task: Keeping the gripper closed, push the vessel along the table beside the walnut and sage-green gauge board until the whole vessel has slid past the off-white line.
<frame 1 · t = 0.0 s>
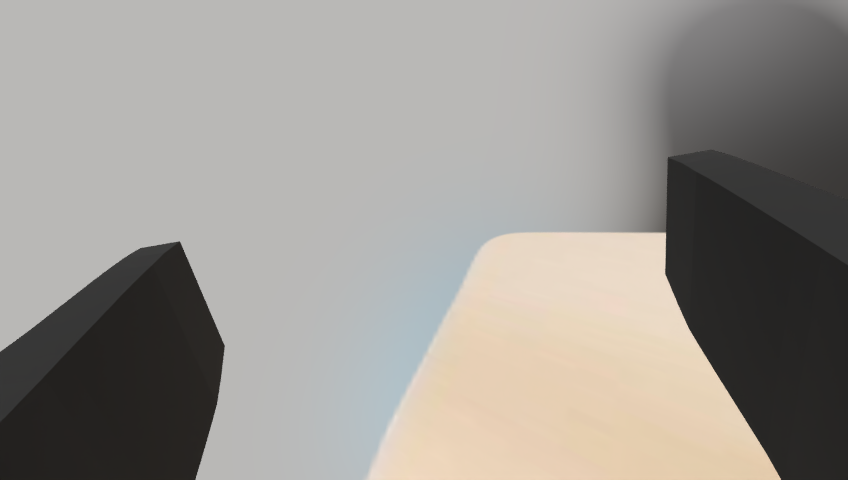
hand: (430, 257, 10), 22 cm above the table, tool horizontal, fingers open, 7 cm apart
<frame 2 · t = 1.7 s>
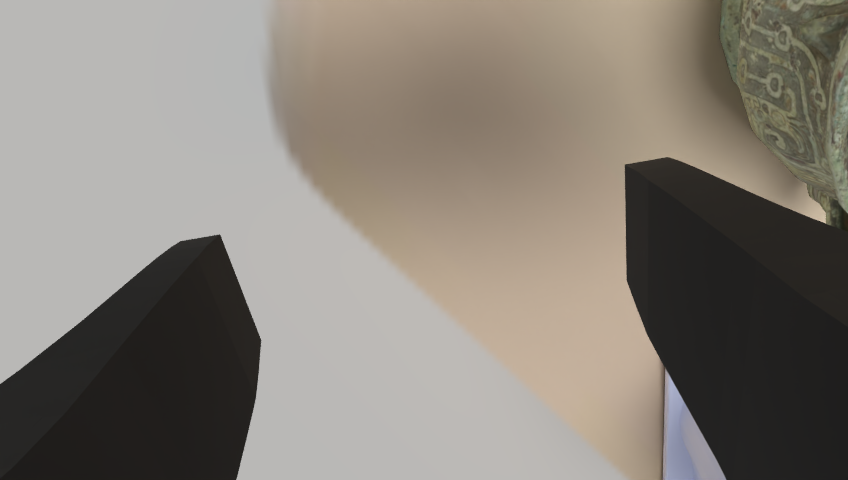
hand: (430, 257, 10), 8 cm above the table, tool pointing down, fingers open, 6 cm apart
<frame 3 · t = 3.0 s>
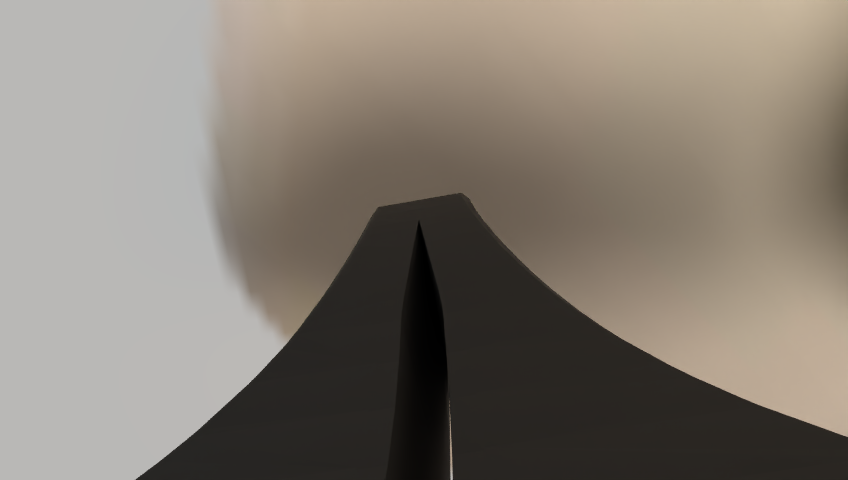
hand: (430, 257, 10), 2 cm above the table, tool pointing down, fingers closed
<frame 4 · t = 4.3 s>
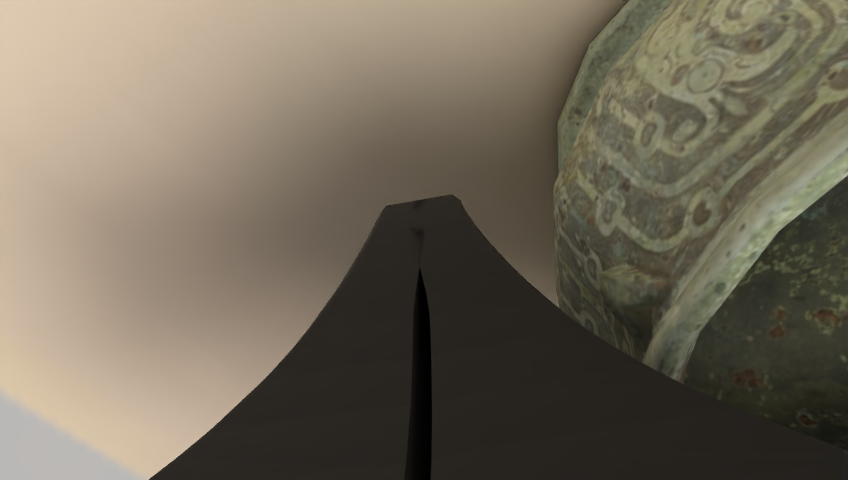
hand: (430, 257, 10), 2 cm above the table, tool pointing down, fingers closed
vessel: (770, 132, 12), on the table, touching gripper
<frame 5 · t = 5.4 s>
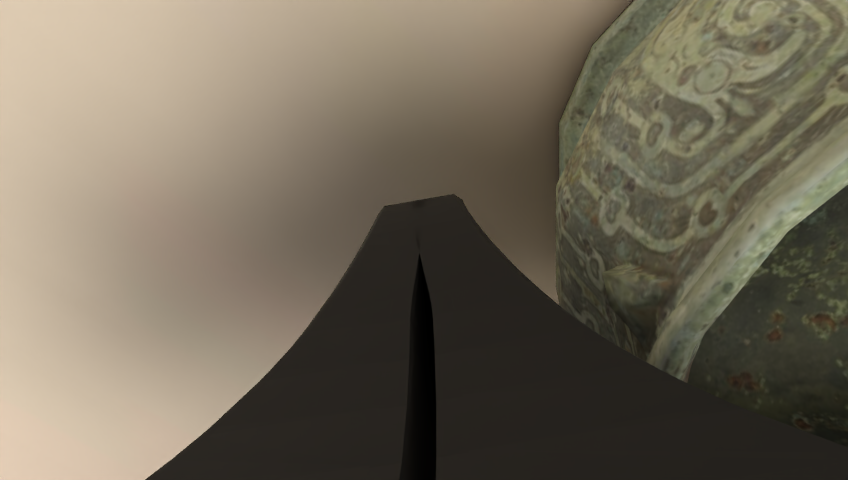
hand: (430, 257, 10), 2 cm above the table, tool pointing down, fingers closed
vessel: (770, 136, 12), on the table, touching gripper
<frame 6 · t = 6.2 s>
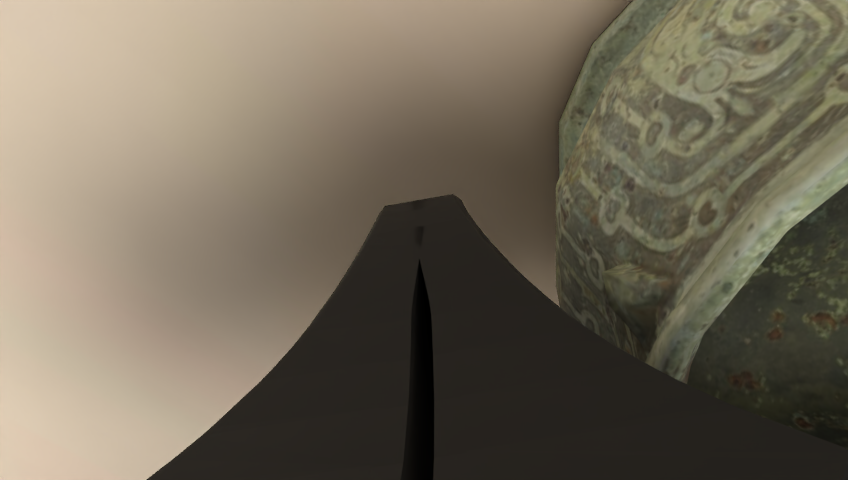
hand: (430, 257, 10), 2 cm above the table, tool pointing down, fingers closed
vessel: (770, 135, 12), on the table, touching gripper
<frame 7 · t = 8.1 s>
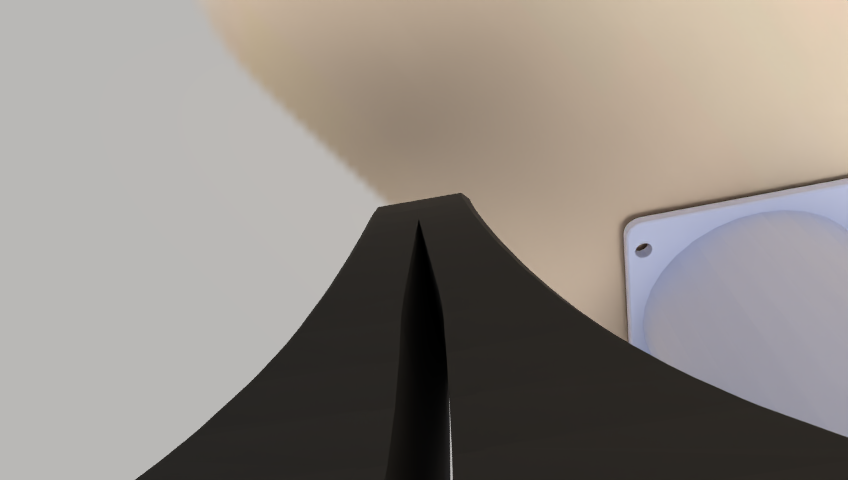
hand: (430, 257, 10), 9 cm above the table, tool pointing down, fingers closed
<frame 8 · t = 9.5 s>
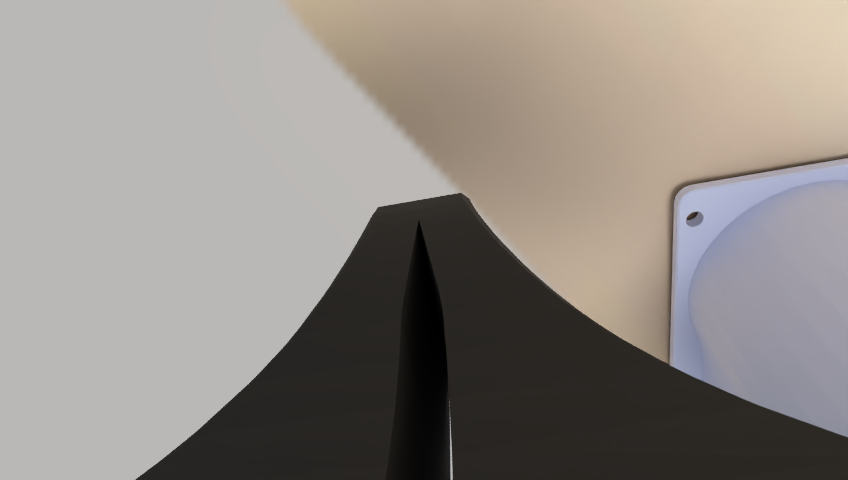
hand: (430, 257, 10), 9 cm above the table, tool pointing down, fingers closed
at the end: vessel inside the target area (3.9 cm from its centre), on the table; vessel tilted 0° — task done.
